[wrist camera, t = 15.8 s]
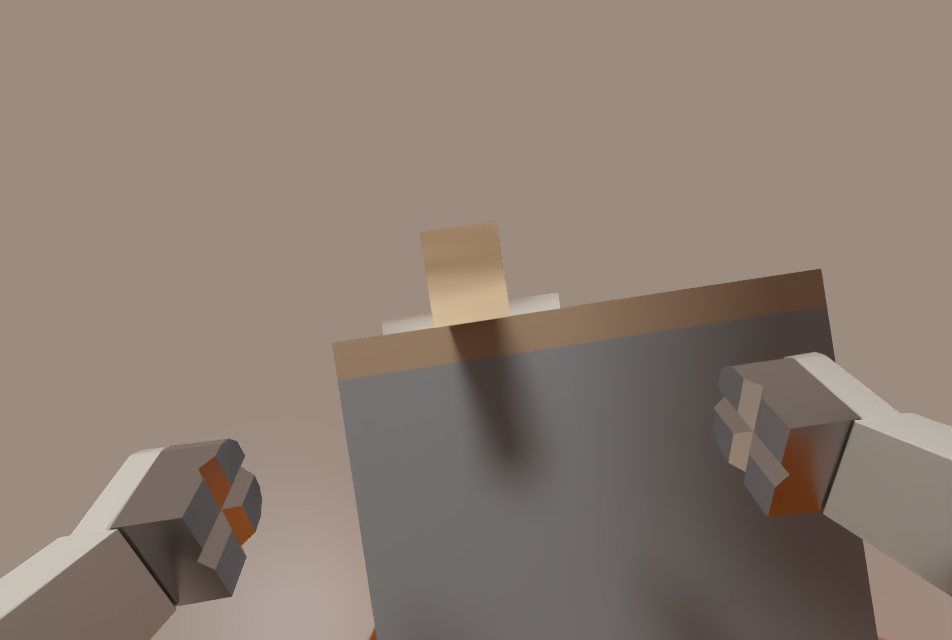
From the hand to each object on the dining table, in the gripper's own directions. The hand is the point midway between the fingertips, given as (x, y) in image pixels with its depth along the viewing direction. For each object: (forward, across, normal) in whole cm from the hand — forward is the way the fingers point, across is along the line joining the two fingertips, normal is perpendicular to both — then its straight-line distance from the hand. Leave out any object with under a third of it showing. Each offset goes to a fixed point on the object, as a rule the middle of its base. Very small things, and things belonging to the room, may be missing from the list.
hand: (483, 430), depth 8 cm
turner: (+14, 0, +6) cm, 15 cm away
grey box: (+6, -5, +31) cm, 32 cm away
